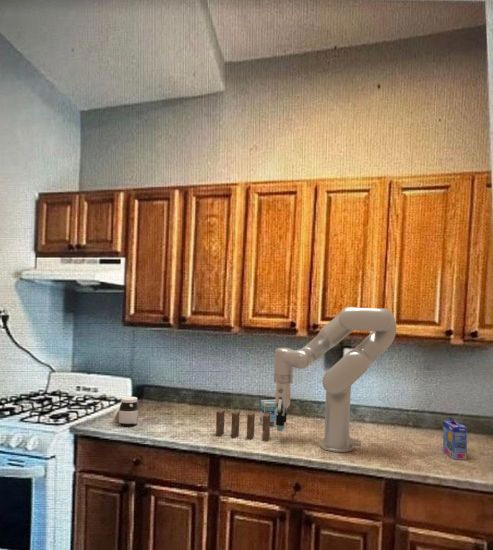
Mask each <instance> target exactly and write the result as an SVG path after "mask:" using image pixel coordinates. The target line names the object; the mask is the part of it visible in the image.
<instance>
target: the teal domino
mask: <svg viewBox="0 0 493 550" xmlns="http://www.w3.org/2000/svg"><path fill="white" fill-rule="evenodd" d="M281 408H283V406H281ZM281 410H283V409H281ZM284 418H285V408H284ZM284 429H285V426H279V425H277V427H276V430H277V431H279V432H283V430H284Z"/></svg>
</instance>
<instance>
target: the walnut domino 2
mask: <svg viewBox="0 0 493 550" xmlns="http://www.w3.org/2000/svg"><path fill="white" fill-rule="evenodd" d="M230 429H231V430H230V431H231V432H230V437H231V439H237V438H238V436H239V435H240V410H234V411H232V412H231V428H230ZM236 437H237V438H236Z"/></svg>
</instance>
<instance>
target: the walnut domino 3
mask: <svg viewBox="0 0 493 550" xmlns="http://www.w3.org/2000/svg"><path fill="white" fill-rule="evenodd" d="M255 414H256V412H255V411H249V412H248V413H247V415H246V418H247V419H246V440H249V439H250V440H253V438H255V417H256V415H255ZM250 440H249V441H250Z"/></svg>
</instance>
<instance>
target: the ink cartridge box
mask: <svg viewBox="0 0 493 550" xmlns="http://www.w3.org/2000/svg"><path fill="white" fill-rule="evenodd" d="M448 418H449V420H446V419H445V420H443V421H442V451H443V453H445V455H447V456H448V457H450V459H452V460H466V461H467V460H468V446H467V445H468V443H467V440H468V433H467V430H468V429H467V426H466V425H464V424H461V423H460V422H459V421H457V420H455V419H454V418H453V417H451V416H448Z"/></svg>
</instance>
